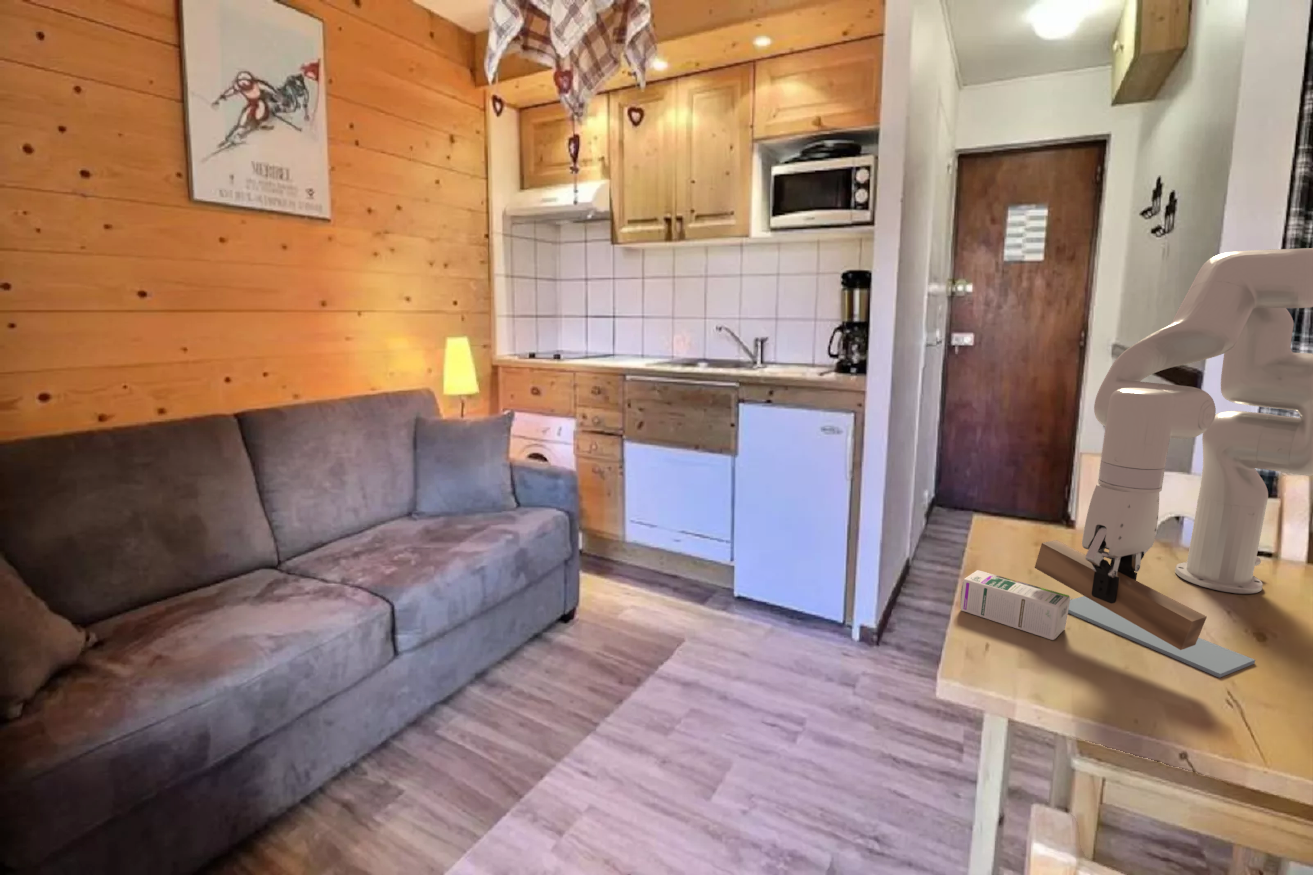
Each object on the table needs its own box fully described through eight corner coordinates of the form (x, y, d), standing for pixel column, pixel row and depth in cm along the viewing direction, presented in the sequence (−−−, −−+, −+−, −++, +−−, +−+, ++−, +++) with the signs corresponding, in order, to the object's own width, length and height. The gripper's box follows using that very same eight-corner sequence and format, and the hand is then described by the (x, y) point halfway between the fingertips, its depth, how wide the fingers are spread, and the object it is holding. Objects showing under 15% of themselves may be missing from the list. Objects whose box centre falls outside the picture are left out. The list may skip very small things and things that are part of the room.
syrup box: (1059, 606, 103) (962, 576, 113) (1054, 642, 104) (958, 609, 114) (1071, 595, 106) (976, 567, 117) (1065, 630, 108) (972, 599, 118)
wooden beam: (1048, 564, 111) (1056, 539, 110) (1195, 644, 93) (1206, 616, 91) (1034, 567, 110) (1041, 542, 108) (1180, 650, 91) (1192, 621, 90)
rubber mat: (1088, 597, 119) (1089, 594, 119) (1254, 663, 98) (1255, 659, 98) (1054, 607, 115) (1055, 603, 115) (1219, 677, 94) (1220, 673, 94)
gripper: (1138, 464, 104) (1120, 578, 107) (1067, 475, 97) (1050, 597, 100) (1193, 476, 97) (1173, 597, 101) (1121, 489, 90) (1102, 618, 94)
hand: (1112, 595), depth 101 cm, fingers closed on wooden beam, 3 cm apart
